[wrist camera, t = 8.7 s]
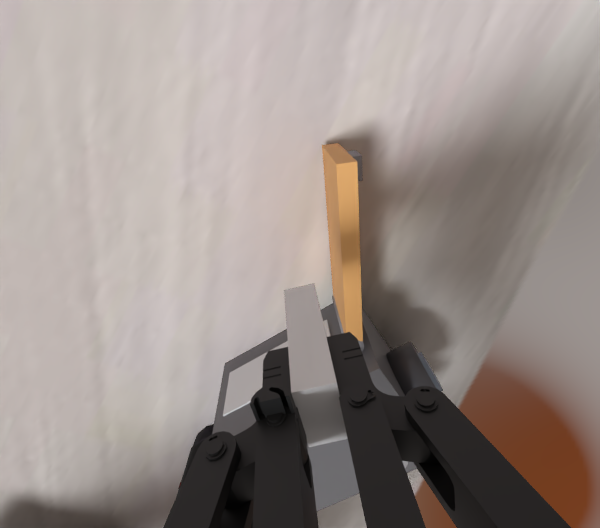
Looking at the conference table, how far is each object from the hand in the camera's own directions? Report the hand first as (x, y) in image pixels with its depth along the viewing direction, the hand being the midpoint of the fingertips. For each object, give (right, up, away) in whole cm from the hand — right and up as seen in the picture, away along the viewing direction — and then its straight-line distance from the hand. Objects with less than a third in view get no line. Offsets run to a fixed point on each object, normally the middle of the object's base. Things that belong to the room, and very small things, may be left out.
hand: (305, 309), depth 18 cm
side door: (+3, +5, +12) cm, 13 cm away
